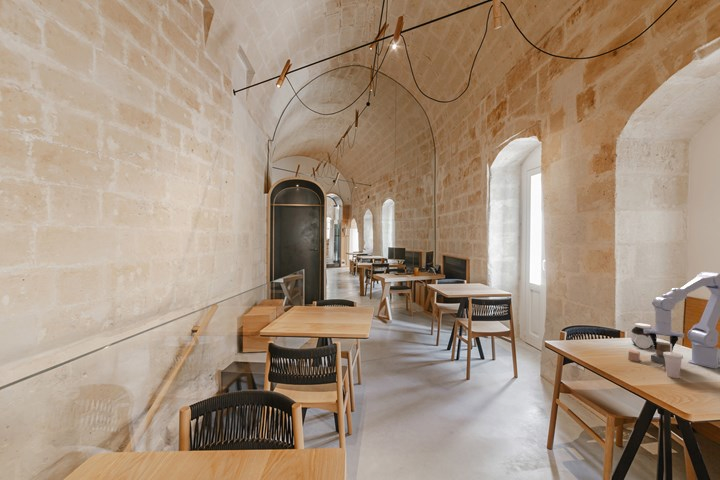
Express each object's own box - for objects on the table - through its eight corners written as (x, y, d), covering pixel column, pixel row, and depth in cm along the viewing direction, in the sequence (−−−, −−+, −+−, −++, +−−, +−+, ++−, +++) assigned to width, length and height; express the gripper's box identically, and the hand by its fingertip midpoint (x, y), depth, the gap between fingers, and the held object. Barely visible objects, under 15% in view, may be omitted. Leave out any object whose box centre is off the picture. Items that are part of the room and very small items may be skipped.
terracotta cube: (639, 359, 168) (639, 351, 168) (638, 361, 165) (638, 353, 165) (629, 357, 171) (629, 349, 171) (628, 359, 168) (628, 351, 168)
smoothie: (662, 372, 152) (662, 341, 152) (682, 375, 148) (682, 343, 148) (663, 376, 147) (663, 344, 147) (683, 380, 143) (683, 347, 143)
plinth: (676, 364, 162) (676, 357, 162) (669, 367, 159) (669, 359, 159) (657, 359, 169) (657, 352, 169) (650, 362, 165) (650, 355, 165)
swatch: (663, 364, 161) (663, 364, 161) (657, 367, 158) (657, 366, 158) (646, 360, 167) (646, 359, 167) (639, 363, 163) (639, 362, 163)
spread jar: (647, 343, 194) (647, 323, 194) (663, 350, 182) (663, 328, 182) (625, 343, 195) (625, 322, 195) (639, 349, 184) (639, 327, 184)
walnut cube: (669, 353, 164) (669, 343, 164) (671, 356, 160) (671, 345, 160) (655, 351, 167) (655, 341, 167) (657, 354, 163) (657, 343, 163)
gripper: (682, 322, 163) (682, 350, 163) (643, 318, 171) (643, 345, 171) (685, 325, 157) (685, 355, 157) (644, 321, 166) (644, 349, 166)
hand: (663, 350), depth 164 cm, fingers closed on walnut cube, 5 cm apart
